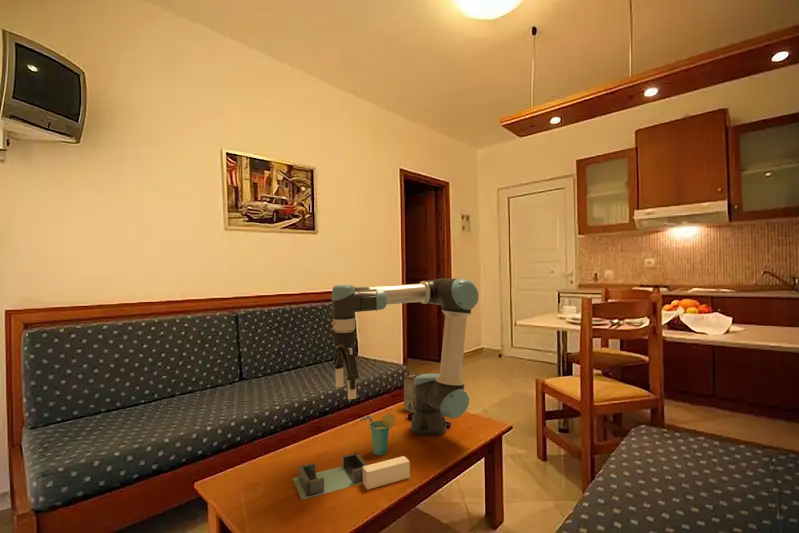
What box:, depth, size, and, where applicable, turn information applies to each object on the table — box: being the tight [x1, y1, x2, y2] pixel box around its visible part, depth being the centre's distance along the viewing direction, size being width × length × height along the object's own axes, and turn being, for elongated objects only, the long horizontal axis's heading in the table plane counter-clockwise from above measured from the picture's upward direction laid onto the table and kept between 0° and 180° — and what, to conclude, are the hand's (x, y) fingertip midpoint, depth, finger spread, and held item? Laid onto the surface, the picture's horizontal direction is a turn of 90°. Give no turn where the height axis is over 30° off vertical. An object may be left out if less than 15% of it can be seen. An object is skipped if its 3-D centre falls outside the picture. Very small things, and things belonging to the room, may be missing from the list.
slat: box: [362, 455, 411, 491], centre depth 128 cm, size 15×4×6 cm, turn 117°
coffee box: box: [403, 372, 422, 413], centre depth 192 cm, size 9×6×16 cm
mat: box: [292, 465, 363, 501], centre depth 129 cm, size 24×13×1 cm, turn 117°
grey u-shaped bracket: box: [342, 452, 368, 484], centre depth 133 cm, size 5×11×4 cm, turn 27°
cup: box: [360, 412, 396, 456], centre depth 147 cm, size 14×8×15 cm, turn 123°
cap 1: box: [297, 462, 324, 497], centre depth 126 cm, size 5×11×4 cm, turn 27°
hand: (345, 392), depth 135 cm, fingers open, 13 cm apart
